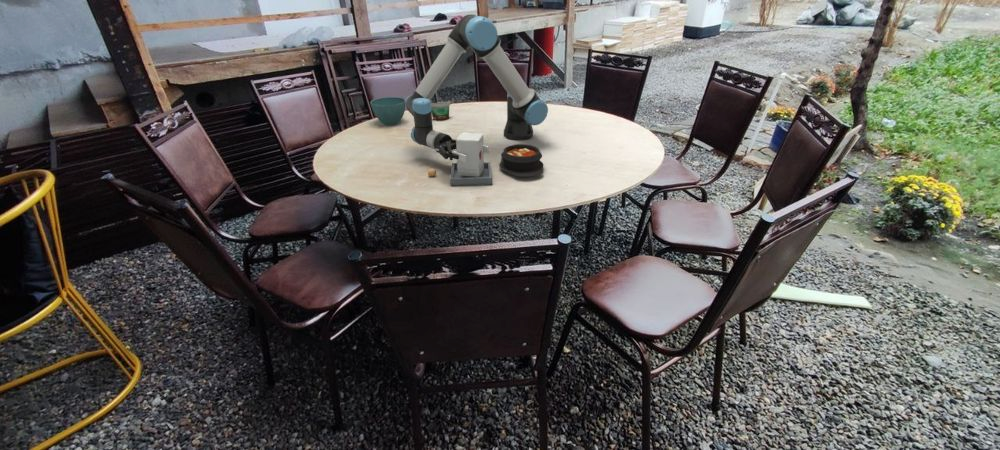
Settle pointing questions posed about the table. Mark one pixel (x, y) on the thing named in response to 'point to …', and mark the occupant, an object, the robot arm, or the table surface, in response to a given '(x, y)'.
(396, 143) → the table surface
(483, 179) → the tray
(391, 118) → the plant pot
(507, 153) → the casserole
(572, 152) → the table surface
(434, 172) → the ball
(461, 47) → the robot arm
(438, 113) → the food container
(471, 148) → the supplement box
